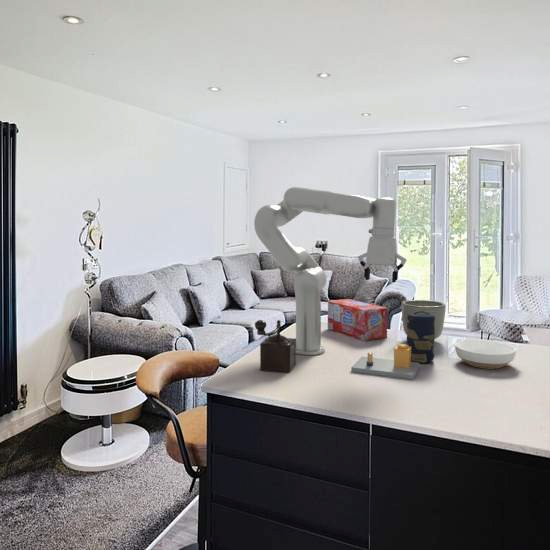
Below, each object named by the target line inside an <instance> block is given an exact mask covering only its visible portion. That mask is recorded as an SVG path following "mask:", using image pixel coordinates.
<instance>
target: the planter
mask: <svg viewBox="0 0 550 550" xmlns="http://www.w3.org/2000/svg"><path fill="white" fill-rule="evenodd" d="M418 311H425V312H428V313H431V314H433V315H434V316H435V338H434V341H435V340H436V339H438V338H439V337H440V336H441V335H442V333H443V330H444V324H445V318H446V303H444V302H442V301H438V300H437V301H436V300H431V299H428V300H427V299H409V300H408V299H407V300H404V301H402V302H401V318H402V327H403V332H404V334H405V335H406V336H407V316H408V314H410V313H413V312H418Z"/></svg>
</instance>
